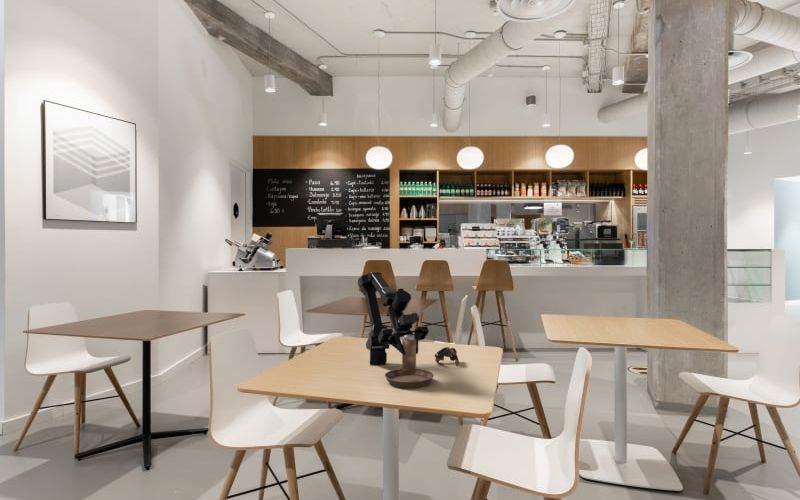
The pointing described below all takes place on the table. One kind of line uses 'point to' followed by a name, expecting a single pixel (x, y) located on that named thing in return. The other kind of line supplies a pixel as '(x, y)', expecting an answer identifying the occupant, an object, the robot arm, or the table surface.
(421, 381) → the plant saucer
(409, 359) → the pepper mill
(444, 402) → the table surface
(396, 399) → the table surface
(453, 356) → the brown jagged crown
